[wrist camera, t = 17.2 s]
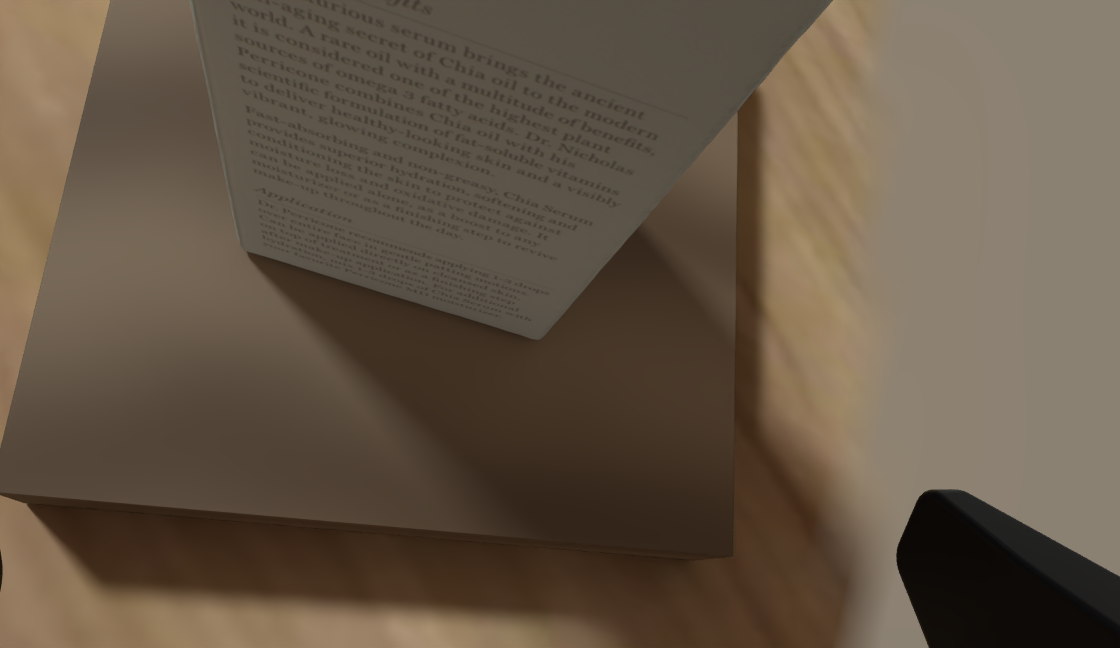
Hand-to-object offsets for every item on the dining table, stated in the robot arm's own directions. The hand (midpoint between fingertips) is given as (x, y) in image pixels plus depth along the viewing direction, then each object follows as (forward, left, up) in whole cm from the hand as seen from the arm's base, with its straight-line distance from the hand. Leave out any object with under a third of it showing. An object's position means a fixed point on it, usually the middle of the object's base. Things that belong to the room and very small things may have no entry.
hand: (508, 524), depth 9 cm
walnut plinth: (+7, 0, -10) cm, 12 cm away
